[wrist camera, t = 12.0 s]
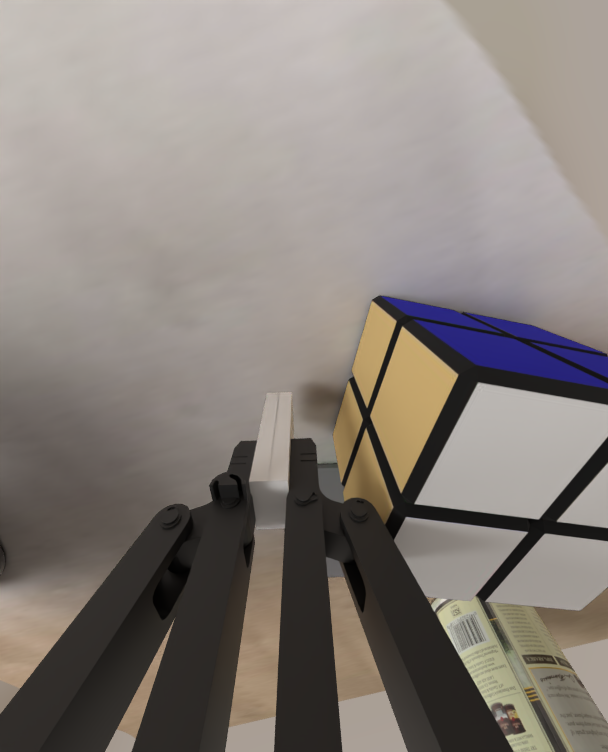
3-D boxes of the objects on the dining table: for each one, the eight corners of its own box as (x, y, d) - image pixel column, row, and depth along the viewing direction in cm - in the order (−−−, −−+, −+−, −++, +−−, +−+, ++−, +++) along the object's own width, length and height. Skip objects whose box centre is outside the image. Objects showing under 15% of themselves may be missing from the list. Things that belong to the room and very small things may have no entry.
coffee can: (495, 631, 33) (614, 872, 21) (414, 623, 32) (488, 874, 20) (546, 583, 29) (738, 852, 16) (454, 572, 28) (584, 852, 15)
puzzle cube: (534, 324, 17) (809, 428, 8) (461, 453, 21) (582, 615, 12) (372, 292, 16) (470, 368, 7) (330, 435, 20) (357, 596, 11)
